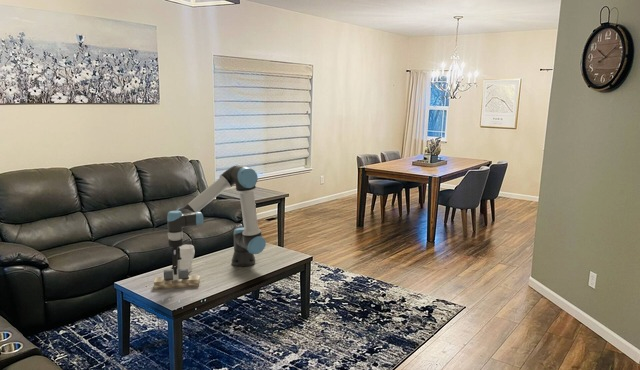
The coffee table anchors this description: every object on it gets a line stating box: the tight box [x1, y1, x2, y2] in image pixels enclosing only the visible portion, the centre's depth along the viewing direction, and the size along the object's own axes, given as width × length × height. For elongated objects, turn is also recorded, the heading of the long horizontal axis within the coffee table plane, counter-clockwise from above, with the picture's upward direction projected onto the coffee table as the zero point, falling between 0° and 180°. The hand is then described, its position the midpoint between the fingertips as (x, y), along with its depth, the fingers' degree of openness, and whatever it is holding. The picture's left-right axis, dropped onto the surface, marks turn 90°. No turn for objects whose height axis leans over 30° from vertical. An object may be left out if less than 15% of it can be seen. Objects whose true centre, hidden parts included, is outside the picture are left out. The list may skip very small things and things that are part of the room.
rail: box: [153, 274, 201, 290], centre depth 260 cm, size 24×7×4 cm, turn 102°
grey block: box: [163, 269, 190, 280], centre depth 259 cm, size 13×3×8 cm, turn 102°
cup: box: [179, 244, 196, 273], centre depth 282 cm, size 11×11×15 cm
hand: (177, 275), depth 259 cm, fingers open, 13 cm apart
